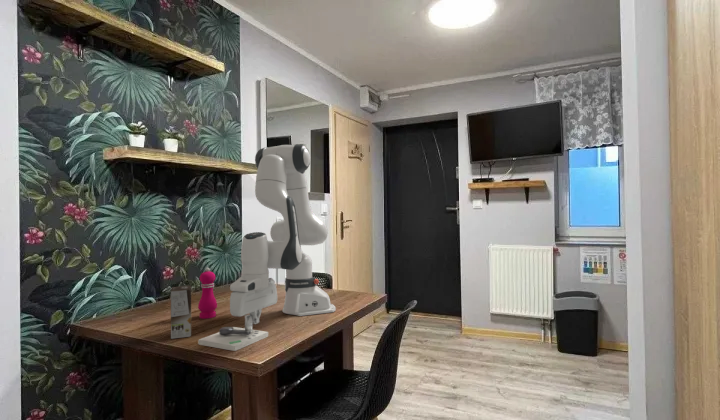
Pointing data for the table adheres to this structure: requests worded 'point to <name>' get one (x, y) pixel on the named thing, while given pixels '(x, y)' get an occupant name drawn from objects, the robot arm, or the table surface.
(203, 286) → the pepper mill
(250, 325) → the crank
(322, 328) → the table surface
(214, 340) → the dial plate
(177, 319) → the coffee box
